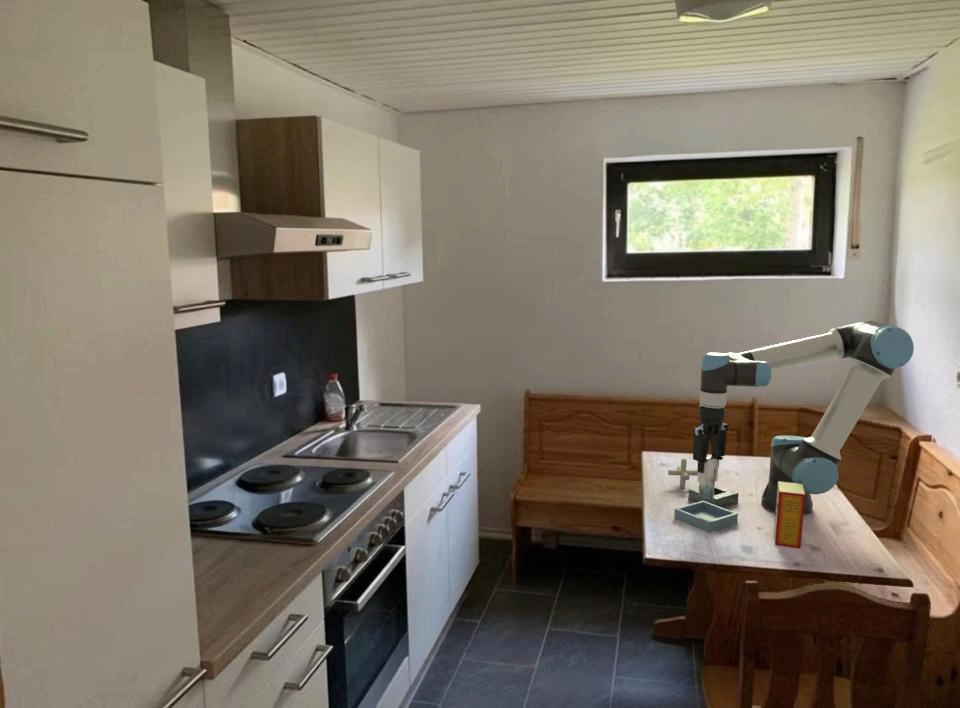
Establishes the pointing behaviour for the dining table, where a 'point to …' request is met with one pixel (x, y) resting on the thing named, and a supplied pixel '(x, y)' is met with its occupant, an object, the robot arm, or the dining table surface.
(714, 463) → the shiny metal cylinder
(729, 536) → the dining table surface
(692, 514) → the parts tray
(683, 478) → the pipe connector
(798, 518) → the baking soda box
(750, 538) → the dining table surface
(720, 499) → the block
